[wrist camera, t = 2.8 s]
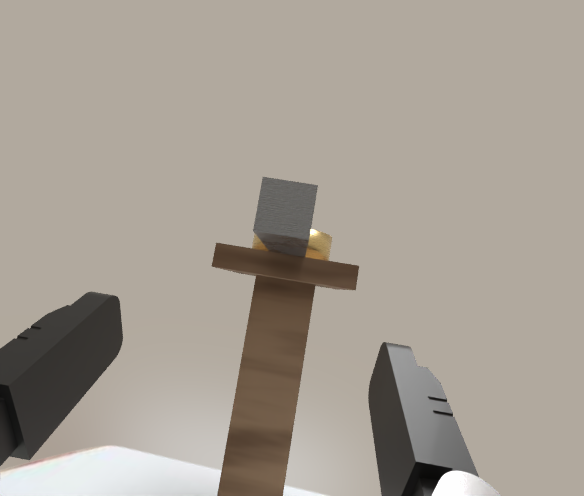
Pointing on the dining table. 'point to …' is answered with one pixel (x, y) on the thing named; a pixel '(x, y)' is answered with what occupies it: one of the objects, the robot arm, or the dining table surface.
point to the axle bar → (289, 220)
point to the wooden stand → (271, 362)
